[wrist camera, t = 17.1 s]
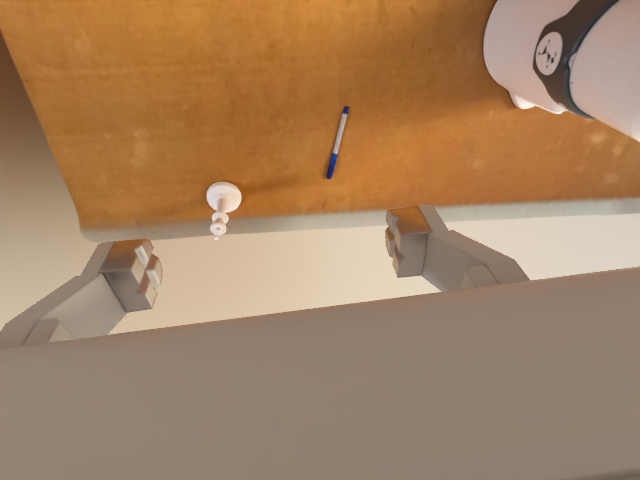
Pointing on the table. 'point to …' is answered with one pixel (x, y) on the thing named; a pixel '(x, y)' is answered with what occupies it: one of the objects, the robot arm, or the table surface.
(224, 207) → the chess piece
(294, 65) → the table surface
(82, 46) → the table surface
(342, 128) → the ballpoint pen
